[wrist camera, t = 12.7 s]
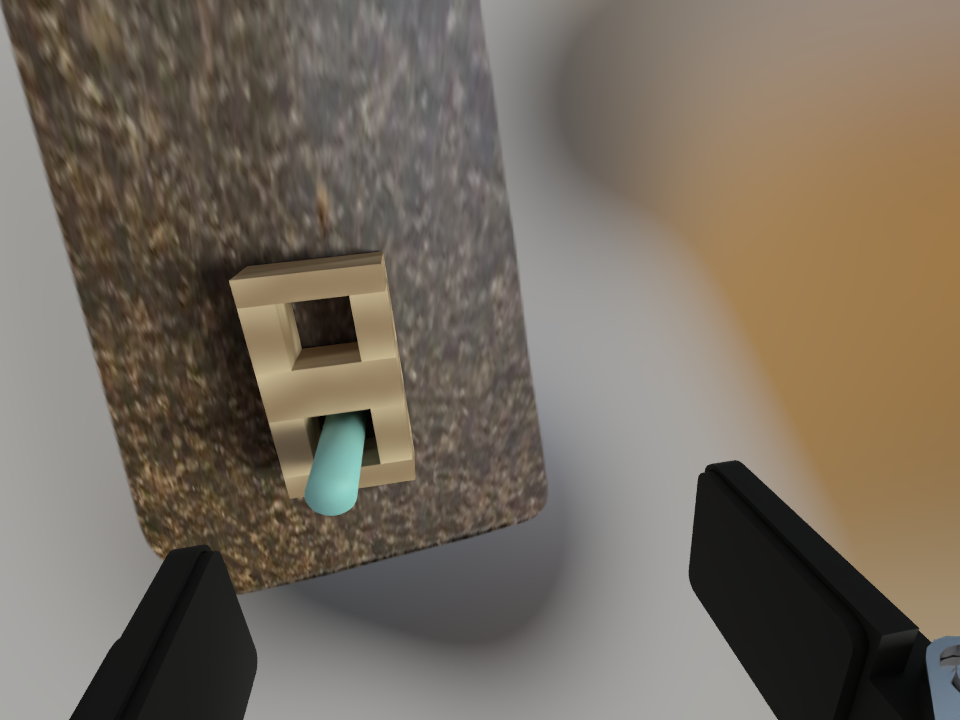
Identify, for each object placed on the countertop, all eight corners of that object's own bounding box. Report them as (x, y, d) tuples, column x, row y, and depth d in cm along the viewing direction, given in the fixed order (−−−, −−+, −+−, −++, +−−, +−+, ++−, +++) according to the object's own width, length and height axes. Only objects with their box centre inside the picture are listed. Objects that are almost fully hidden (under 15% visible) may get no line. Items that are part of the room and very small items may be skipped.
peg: (323, 399, 39) (299, 477, 30) (363, 394, 39) (352, 469, 30) (331, 434, 40) (310, 519, 31) (370, 428, 40) (361, 511, 31)
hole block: (247, 266, 35) (228, 280, 31) (383, 251, 35) (381, 263, 32) (299, 466, 41) (289, 498, 37) (414, 450, 42) (415, 479, 38)
